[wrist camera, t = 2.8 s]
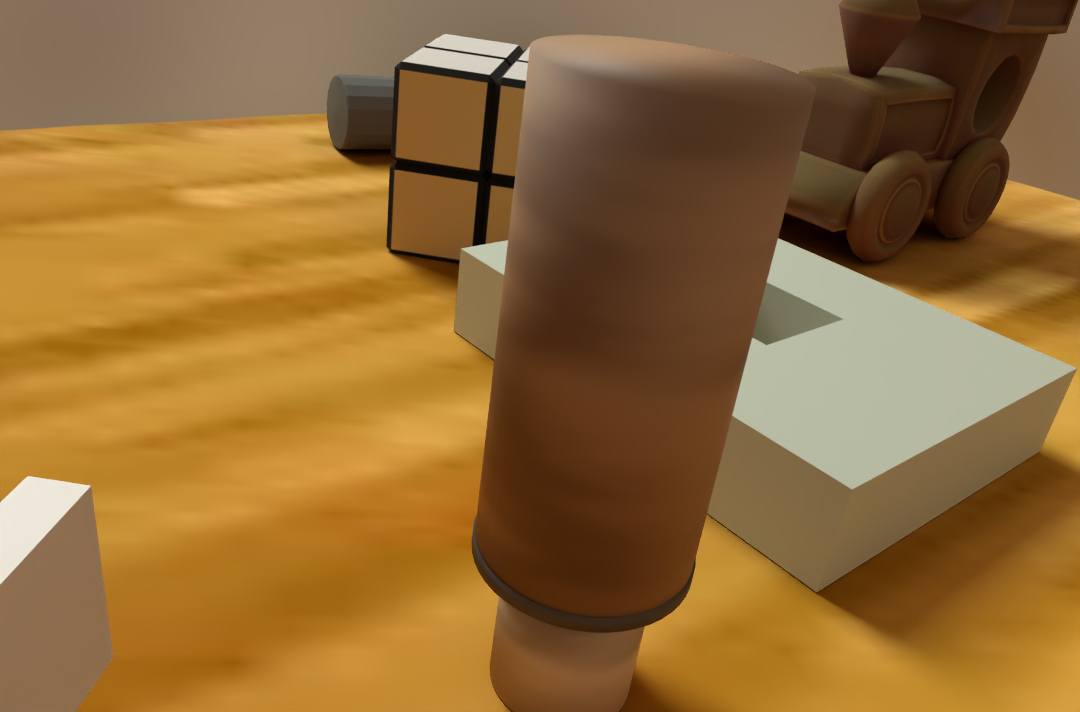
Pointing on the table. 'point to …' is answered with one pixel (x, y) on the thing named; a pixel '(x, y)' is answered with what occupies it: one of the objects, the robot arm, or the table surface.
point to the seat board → (846, 410)
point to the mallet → (360, 112)
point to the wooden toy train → (918, 116)
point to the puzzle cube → (454, 146)
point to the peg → (621, 344)
